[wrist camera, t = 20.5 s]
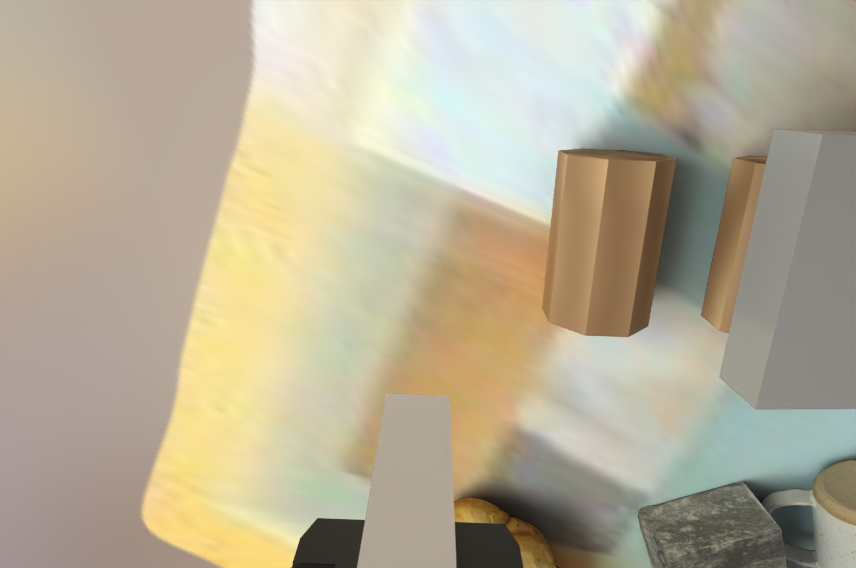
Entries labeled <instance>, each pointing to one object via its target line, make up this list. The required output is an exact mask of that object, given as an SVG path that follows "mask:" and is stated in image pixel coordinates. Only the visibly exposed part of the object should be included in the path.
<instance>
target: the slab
mask: <svg viewBox="0 0 856 568" xmlns="http://www.w3.org/2000/svg"><path fill="white" fill-rule="evenodd" d="M719 378H721V379H722V380H723V381H724V382H725V383H726V384H727V385H728V386H730V387H731V388H732V389H733V390H734V391H735V392H736V393H737V394H739V395H740V396H741V397H742V398H743V399H744V400H745V401H746V402H748V403H749V404H750V405H751V406H752V407H753V408H754V409H856V131H822V130H785V129H773V134H772V138H771V143H770V147H769V152H768V157H767V161H766V166H765V170H764V175H763V180H762V184H761V189H760V193H759V198H758V202H757V207H756V212H755V216H754V221H753V225H752V230H751V235H750V239H749V244H748V248H747V253H746V257H745V262H744V267H743V271H742V276H741V280H740V285H739V290H738V294H737V299H736V303H735V308H734V312H733V317H732V322H731V326H730V331H729V335H728V340H727V344H726V349H725V354H724V358H723V363H722V367H721V372H720V377H719Z"/></svg>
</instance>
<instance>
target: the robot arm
mask: <svg viewBox="0 0 856 568" xmlns="http://www.w3.org/2000/svg"><path fill="white" fill-rule="evenodd" d="M291 568H524V567H523V562H522V556H521V551H520V545H519V544H518V542H517V541H516V539H515V538H514V537H513V535H512V534H511V532H510V531H509V529H508V528H507V526H506V525H505V524H495V523H470V522H455V516H454V490H453V464H452V438H451V413H450V396H429V395H403V394H386V400H385V406H384V412H383V418H382V424H381V430H380V436H379V441H378V447H377V453H376V459H375V465H374V471H373V477H372V483H371V488H370V494H369V500H368V506H367V512H366V518H365V520H349V519H324V518H317V520H316V521H315V522H314V523H313V524H312V525H311V527H310V528H309V529H308V530H307V531H306V532H305V534H304V535H303V536H302V537H301V538H300V541H299V544H298V547H297V551H296V554H295V557H294V560H293V566H292V567H291Z"/></svg>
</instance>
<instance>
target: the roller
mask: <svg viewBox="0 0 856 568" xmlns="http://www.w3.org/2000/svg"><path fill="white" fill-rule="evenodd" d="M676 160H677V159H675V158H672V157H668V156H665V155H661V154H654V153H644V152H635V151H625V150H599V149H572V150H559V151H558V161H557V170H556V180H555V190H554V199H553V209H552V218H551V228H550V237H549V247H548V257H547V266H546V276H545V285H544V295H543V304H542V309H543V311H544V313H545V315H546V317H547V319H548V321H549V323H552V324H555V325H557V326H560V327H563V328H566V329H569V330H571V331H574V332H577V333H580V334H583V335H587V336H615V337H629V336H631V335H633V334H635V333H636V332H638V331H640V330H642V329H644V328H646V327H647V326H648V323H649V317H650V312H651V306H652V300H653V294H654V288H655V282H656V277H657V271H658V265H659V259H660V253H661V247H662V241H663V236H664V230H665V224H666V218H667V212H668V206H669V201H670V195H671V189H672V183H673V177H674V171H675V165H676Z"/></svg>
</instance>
